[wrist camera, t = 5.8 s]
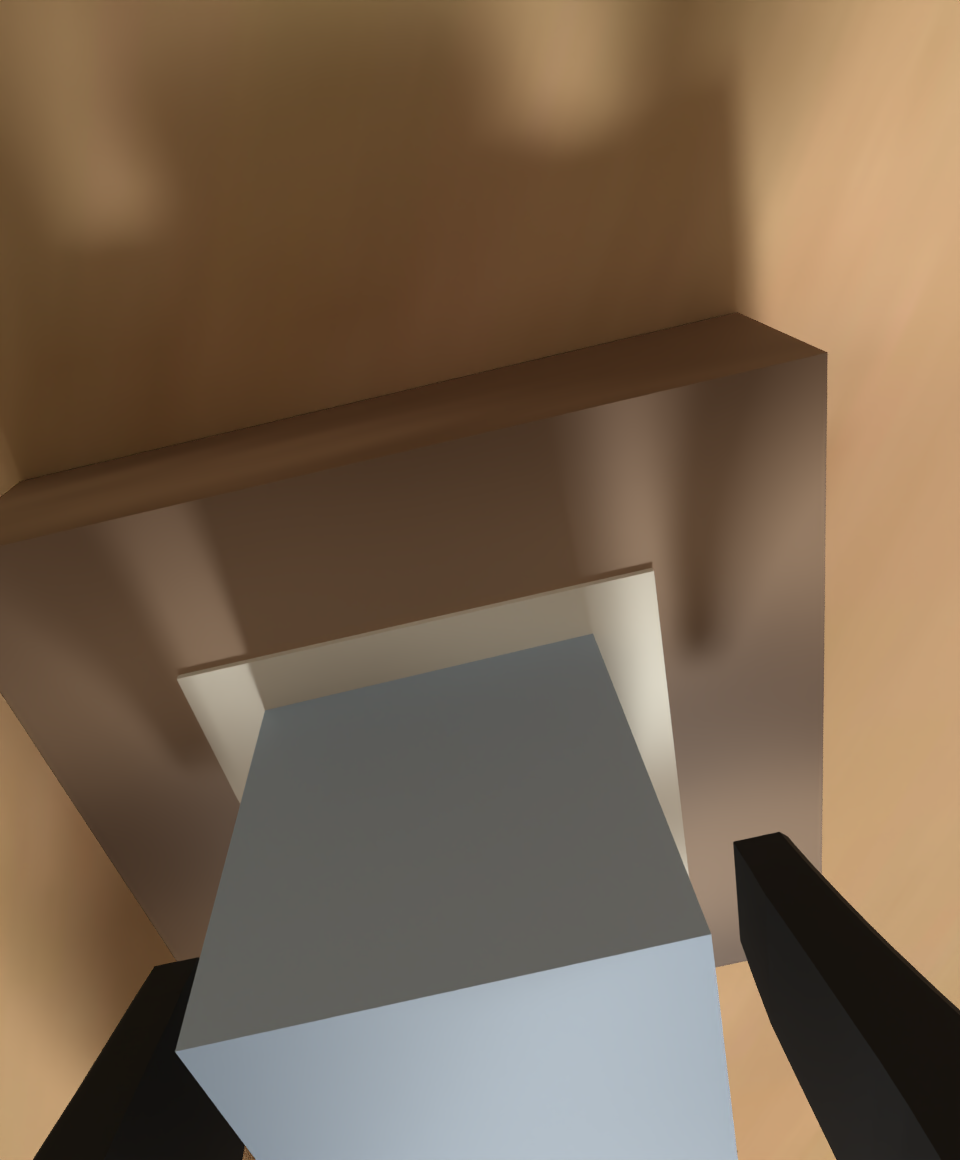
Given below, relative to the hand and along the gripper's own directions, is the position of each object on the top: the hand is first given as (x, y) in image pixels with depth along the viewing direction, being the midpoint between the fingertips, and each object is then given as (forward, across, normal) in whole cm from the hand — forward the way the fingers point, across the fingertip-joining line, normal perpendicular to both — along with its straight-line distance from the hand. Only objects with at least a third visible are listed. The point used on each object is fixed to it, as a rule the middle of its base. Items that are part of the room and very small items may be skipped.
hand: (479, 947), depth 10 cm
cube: (+3, 0, 0) cm, 3 cm away
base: (+6, 0, 0) cm, 6 cm away
